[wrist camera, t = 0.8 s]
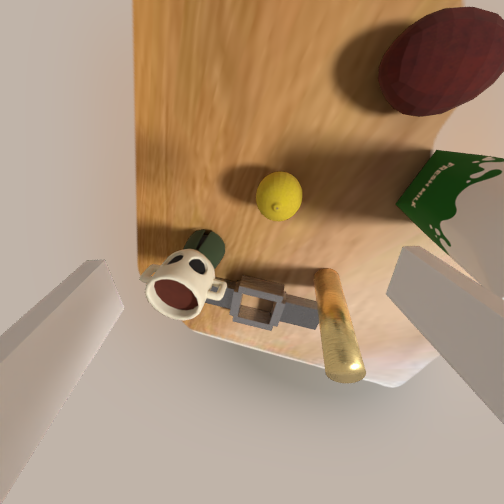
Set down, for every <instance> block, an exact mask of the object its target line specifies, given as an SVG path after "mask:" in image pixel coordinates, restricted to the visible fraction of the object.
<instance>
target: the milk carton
mask: <svg viewBox="0 0 504 504" xmlns="http://www.w3.org/2000/svg"><path fill="white" fill-rule="evenodd" d="M396 205H397V206H398V207H399V208H400V209H401V210H402V211H403V212H404V213H405V214H406V215H407V216H408V217H409V218H410V219H411V220H412V221H413V222H414V223H415V224H416V225H417V226H418V227H419V228H420V229H421V230H422V231H423V232H424V233H425V234H426V235H427V236H428V237H429V238H430V239H431V240H432V241H434V242H435V243H436V244H437V245H438V246H439V247H440V248H441V249H442V250H443V251H444V252H446V253H447V254H448V255H449V256H450V257H451V258H452V259H453V260H454V261H455V262H456V263H458V264H459V265H460V266H461V267H462V268H463V269H464V270H465V271H466V272H467V273H469V274H470V275H471V276H472V277H473V278H474V279H476V280H477V281H478V283H479V284H480V285H481V286H483V287H484V288H486V289H487V290H489V291H490V292H492V293H493V294H495V295H497V296H498V297H500V298H501V299H503V300H504V159H503V158H497V157H491V156H483V155H475V154H466V153H458V152H449V151H441V150H436V151H435V153H434V154H433V155H432V157H431V158H430V159H429V161H428V162H427V163H426V165H425V166H424V167H423V168H422V170H421V171H420V172H419V174H418V175H417V176H416V178H415V179H414V180H413V182H412V183H411V184H410V186H409V187H408V188H407V190H406V191H405V192H404V194H403V195H402V196H401V198H400V199H399V200H398V202H397V203H396Z"/></svg>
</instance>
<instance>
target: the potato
mask: <svg viewBox="0 0 504 504" xmlns="http://www.w3.org/2000/svg"><path fill="white" fill-rule="evenodd" d="M503 72H504V20H503V19H502V18H501V17H500V16H499V15H498V14H496V13H493V12H489V11H485V10H482V9H479V8H475V7H459V8H445V9H442V10H439V11H436V12H434V13H431V14H429V15H426V16H424V17H423V18H421V19H420V20H418V21H417V22H415V23H414V24H412V25H410V26H409V27H408V28H407V29H406V30H405V31H404V32H403V33H402V34H401V35H400V36H399V37H398V38H397V39H396V40H395V41H394V42H393V43H392V45H391V46H390V47H389V49H388V50H387V51H386V53H385V54H384V56H383V59H382V61H381V63H380V66H379V74H378V81H379V85H380V89H381V91H382V93H383V95H384V97H385V99H386V100H387V101H388V103H389V104H390V105H391V106H392V107H393V108H394V109H396V110H397V111H399V112H401V113H402V114H405V115H412V116H418V117H420V116H429V115H436V114H442V113H444V112H446V111H448V110H451V109H453V108H455V107H457V106H459V105H462V104H464V103H466V102H468V101H470V100H472V99H474V98H475V97H477V96H478V95H479V94H481V93H482V92H483V91H484V90H486V89H487V88H488V87H489V86H491V85H492V84H493V83H494V82H495V81H496V80H497V79H498V77H499V76H500V75H501V74H502V73H503Z"/></svg>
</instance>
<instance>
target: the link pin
mask: <svg viewBox="0 0 504 504" xmlns="http://www.w3.org/2000/svg"><path fill="white" fill-rule="evenodd" d="M314 285H315V293H316V301H317V309H318V317H319V325H320V333H321V341H322V349H323V357H324V364H325V372H326V375H327V377H328V378H330V379H331V380H333V381H336V382H340V383H354V382H357V381H360V380H362V379H363V378H364V377H365V375H366V371H365V367H364V364H363V360H362V357H361V353H360V350H359V346H358V342H357V339H356V335H355V332H354V328H353V325H352V321H351V318H350V314H349V311H348V307H347V303H346V300H345V296H344V293H343V289H342V286H341V282H340V279H339V275H338V273H337V272H336V271H335V270H333V269H329V268H325V269H321V270H319V271H317V272H316V273H315V275H314Z"/></svg>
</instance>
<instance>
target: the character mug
mask: <svg viewBox="0 0 504 504" xmlns="http://www.w3.org/2000/svg"><path fill="white" fill-rule="evenodd" d="M204 232H205V230H204V229H203V230H199V231H196V232H195V233H193V234H192V235H191V236H190V238H189V239H188V241H187V243H186V245H185V247H184V249H183V250H179V251H177V252H174V253H173V254H171V255H170V256H169V257H168V258H167V259H166V260H165V261H164V262H163V264H162V265H161V266H160V265H156V264H152V265H150V266H149V267H148V268H147V269H146V270H145V271H144V272H143V273H142V275H141V276H140V280H141V281H142V282H144V283H147V285H146V289H145V295H146V297H147V300H148V302H149V303H150V304H151V305H152V307H153V308H154V309H155V310H157V311H158V312H160V313H161V314H162V315H164V316H167V317H169V318H172V319H176V320H188V319H193V318H194V317H196V316H197V315H198V314H199V313H200V312H201V310H202V307H203V305H204V303H205V301H206V299H207V298H208V299H212V300H216V301H220V300H221V299H222V298H223V296H224V293H225V291H226V288H227V283H226V282H224V281H221V280H217V279H215V272H214V269H215V268H216V267H217V265H218V264H219V263H220V261H221V260H222V258H223V256H224V254H225V244H224V242H223V241H222V239H221V237H220V236H218V235H217V234H216V233H214V232H212V231H211V232H210V234H209V235H203V234H204ZM154 272H156V273H155V274H154V275H153V277H152V276H151V275H152V274H153V273H154ZM212 286H215V287H219V288H218V291H217V292H213V291H210V290H211V288H212Z"/></svg>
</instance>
